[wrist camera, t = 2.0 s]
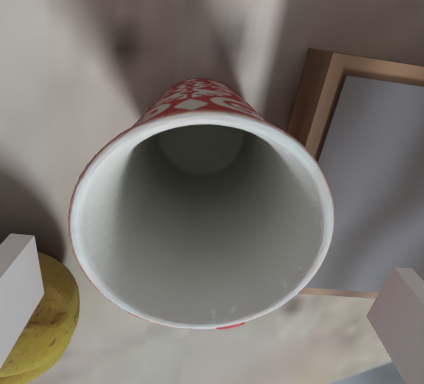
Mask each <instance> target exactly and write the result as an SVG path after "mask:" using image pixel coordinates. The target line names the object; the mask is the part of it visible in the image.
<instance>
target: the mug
mask: <svg viewBox="0 0 424 384" xmlns="http://www.w3.org/2000/svg"><path fill="white" fill-rule="evenodd" d="M68 220H69V236H70V240H71V244H72V248H73V252H74V255H75V257H76V260H77V261H78V263H79V265H80V267H81V269H82V270H83V272H84V274H85V275H86V277H87V278H88V279H89V281H90V282H91V283H92V284H93V285H94V287H95V288H96V289H97V290H98V291H99V292H100V293H101V294H103V295H104V296H105V297H106V298H107V299H109V300H110V301H111V302H112V303H114V304H115V305H117V306H118V307H120V308H121V309H123V310H125V311H126V312H128V313H130V314H132V315H134V316H136V317H139V318H141V319H144V320H146V321H150V322H153V323H156V324H160V325H164V326H169V327H177V328H187V329H209V328H216V329H227V328H233V327H237V326H240V325H243V324H244V323H245V322H246V321H249V320H252V319H254V318H257V317H260V316H262V315H265V314H267V313H269V312H271V311H273V310H275V309H276V308H278V307H280V306H282V305H283V304H284V303H286V302H288V301H289V300H290V299H291V298H293V297H294V296H295V295H296V294H297V293H298V292H300V291H301V290H302V289H303V288H304V287H305V286H306V285H307V284H308V282H309V281H310V280H311V279H312V278H313V276H314V275H315V274H316V273H317V271H318V270H319V268H320V266H321V265H322V263H323V261H324V259H325V257H326V255H327V252H328V249H329V247H330V243H331V240H332V236H333V232H334V223H335V216H334V202H333V197H332V193H331V190H330V186H329V184H328V181H327V179H326V177H325V175H324V173H323V171H322V169H321V167H320V166H319V164H318V163H317V161H316V160H315V158H314V157H313V156H312V154H311V153H310V152H309V151H308V150H307V149H306V148H305V147H304V146H303V145H302V144H301V143H300V142H299V141H298V140H297V139H295V138H294V137H293V136H291V135H290V134H288V133H287V132H285V131H284V130H282V129H280V128H279V127H277V126H275V125H273V124H270V123H269V122H268V121H267V120H265V119H264V118H263V117H262V116H261V115H260V114H259V113H257V112H256V111H255V110H254V109H253V108H252V107H251V106H250V105H249V104H248V103H247V102H245V101H244V100H243V99H242V98H241V97H240V96H239V95H238V94H237V93H236V92H234V91H233V90H232V89H230V88H229V87H228V86H226V85H224V84H222V83H220V82H217V81H214V80H209V79H191V80H187V81H183V82H181V83H178V84H176V85H175V86H173V87H171V88H170V89H169V90H168V91H166V92H165V93H164V94H163V95H162V96H161V97H160V99H159V100H158V101H157V102H156V103H155V104H154V105H153V106H151V107H150V108H149V109H148V110H147V112H146V113H145V114H144V115H143V116H142V117H141V119H139V120H138V121H137V122H136V123H135V124H134V125H133V126H132V127H131V128H129V129H128V130H126V131H124V132H122V133H121V134H119V135H118V136H117V137H115V138H114V139H113V140H111V141H110V142H109V143H108V144H107V145H106V146H105V147H103V148H102V149H101V150H100V151H99V152H98V153H97V154H96V155H95V156H94V157H93V159H92V160H91V161H90V162H89V164H88V165H87V166H86V168H85V169H84V171H83V172H82V174H81V175H80V177H79V180H78V183H77V184H76V186H75V189H74V192H73V195H72V198H71V203H70V209H69V217H68Z"/></svg>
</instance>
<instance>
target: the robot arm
mask: <svg viewBox="0 0 424 384" xmlns="http://www.w3.org/2000/svg"><path fill="white" fill-rule="evenodd" d="M43 295H44V288H43V282H42V277H41V271H40V265H39V259H38V254H37V248H36V242H35V236H34V235H22V234H10V235H9V236H8V237H7V238H6V239H5V240H4V241H3V242H2V243H1V245H0V368H1V367H2V365H3V363H4V361H5V360H6V358H7V356H8V355H9V353H10V351H11V349H12V348H13V346H14V344H15V343H16V341H17V339H18V338H19V336H20V334H21V332H22V331H23V329H24V327H25V326H26V324H27V322H28V321H29V319H30V317H31V315H32V314H33V312H34V310H35V309H36V307H37V305H38V303H39V302H40V300H41V298H42V297H43ZM367 318H368V319H369V321H370V323H371V324H372V326H373V328H374V330H375V331H376V333H377V335H378V337H379V338H380V340H381V342H382V343H383V345H384V347H385V349H386V350H387V352H388V354H389V356H390V357H391V359H392V361H393V362H394V364H395V366H396V368H397V369H398V371H399V373H400V375H401V376H402V378H403V380H404V381H405V383H406V384H424V281H423V280H422V279H421V278H420V276H419V275H418V274H417V273H416V272H415V271H414V270H413V269H412V268H401V267H394V268H393V269H392V271H391V273H390V275H389V277H388V278H387V280H386V282H385V284H384V285H383V287H382V289H381V291H380V293H379V294H378V296H377V298H376V300H375V302H374V303H373V305H372V307H371V309H370V311H369V312H368V314H367Z"/></svg>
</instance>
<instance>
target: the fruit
mask: <svg viewBox="0 0 424 384" xmlns="http://www.w3.org/2000/svg"><path fill="white" fill-rule="evenodd" d="M37 254H38V259H39V265H40V271H41V277H42V282H43V288H44V295H43V297H42V298H41V300H40V302H39V303H38V305H37V307H36V309H35V310H34V312H33V314H32V315H31V317H30V319H29V321H28V322H27V324H26V326H25V327H24V329H23V331H22V332H21V334H20V336H19V338H18V339H17V341H16V343H15V344H14V346H13V348H12V349H11V351H10V353H9V355H8V356H7V358H6V360H5V361H4V363H3V365H2V367H1V368H0V384H26V383H28V382H30V381H32V380H33V379H35V378H37V377H38V376H40V375H41V374H42V373H44V372H45V371H47V370H48V369H49V368H50V367H51V366H53V365H54V364H55V363H56V362H57V360H58V359H59V358H60V357H61V355H62V354H63V352H64V351H65V349H66V348H67V346H68V344H69V342H70V340H71V337H72V335H73V332H74V330H75V328H76V325H77V322H78V318H79V310H80V308H79V305H80V299H79V290H78V286H77V283H76V281H75V278H74V277H73V275H72V274H71V272H70V271H69V270H68V268H67V267H66V266H64V265H63V264H62V263H60V262H59V261H58V260H56V259H55V258H53V257H51V256H49V255H46V254H44V253H40V252H37Z"/></svg>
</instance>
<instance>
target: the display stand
mask: <svg viewBox="0 0 424 384" xmlns="http://www.w3.org/2000/svg"><path fill="white" fill-rule="evenodd" d="M287 133H288V134H290V135H291V136H293V137H294V138H295V139H297V140H298V141H299V142H300V143H301V144H302V145H303V146H304V147H305V148H306V149H307V150H308V151H309V152H310V153H311V154H312V156H313V157H314V158H315V160H316V161H317V163H318V164H319V166H320V167H321V169H322V171H323V173H324V175H325V177H326V179H327V181H328V184H329V186H330V190H331V193H332V197H333V202H334V216H335V223H334V232H333V236H332V240H331V243H330V247H329V249H328V252H327V255H326V257H325V259H324V261H323V263H322V265H321V266H320V268H319V270H318V271H317V273H316V274H315V275H314V276H313V278H312V279H311V280H310V281H309V282H308V284H307V285H306V286H305V287H304V288H303V289H302V290H301V291H300V292H298V293H301V294H316V295H331V296H346V297H362V298H377V296H378V294H379V293H380V291H381V289H382V287H383V285H384V284H385V282H386V280H387V278H388V277H389V275H390V273H391V271H392V269H393V268H394V267H401V268H412V269H413V270H414V271H415V272H416V273H417V274H418V275H419V276H420V278H421V279H422V280H423V281H424V66H418V65H412V64H406V63H399V62H393V61H387V60H380V59H374V58H368V57H361V56H355V55H349V54H342V53H336V52H330V51H323V50H317V49H310V48H309V51H308V54H307V58H306V62H305V66H304V70H303V73H302V77H301V81H300V85H299V89H298V92H297V96H296V100H295V104H294V107H293V111H292V115H291V119H290V123H289V126H288V130H287Z"/></svg>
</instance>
